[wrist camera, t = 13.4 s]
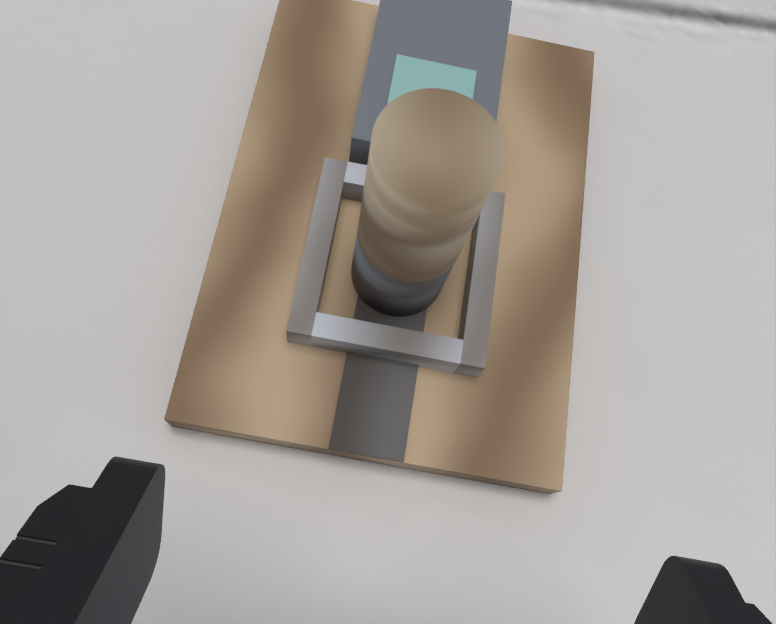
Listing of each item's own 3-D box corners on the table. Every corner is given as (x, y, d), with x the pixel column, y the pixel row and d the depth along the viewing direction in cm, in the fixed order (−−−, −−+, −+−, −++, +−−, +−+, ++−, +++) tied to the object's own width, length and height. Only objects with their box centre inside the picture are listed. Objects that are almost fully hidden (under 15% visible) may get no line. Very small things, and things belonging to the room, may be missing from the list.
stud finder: (348, 167, 31) (351, 134, 29) (380, 11, 34) (386, -30, 32) (477, 193, 31) (491, 163, 29) (498, 36, 34) (513, -3, 32)
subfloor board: (171, 425, 28) (156, 412, 25) (284, 8, 36) (282, -39, 33) (549, 493, 29) (575, 487, 26) (583, 71, 36) (606, 31, 34)
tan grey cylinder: (343, 307, 29) (360, 191, 20) (360, 222, 30) (383, 76, 21) (436, 324, 29) (497, 218, 20) (449, 240, 30) (511, 102, 21)
